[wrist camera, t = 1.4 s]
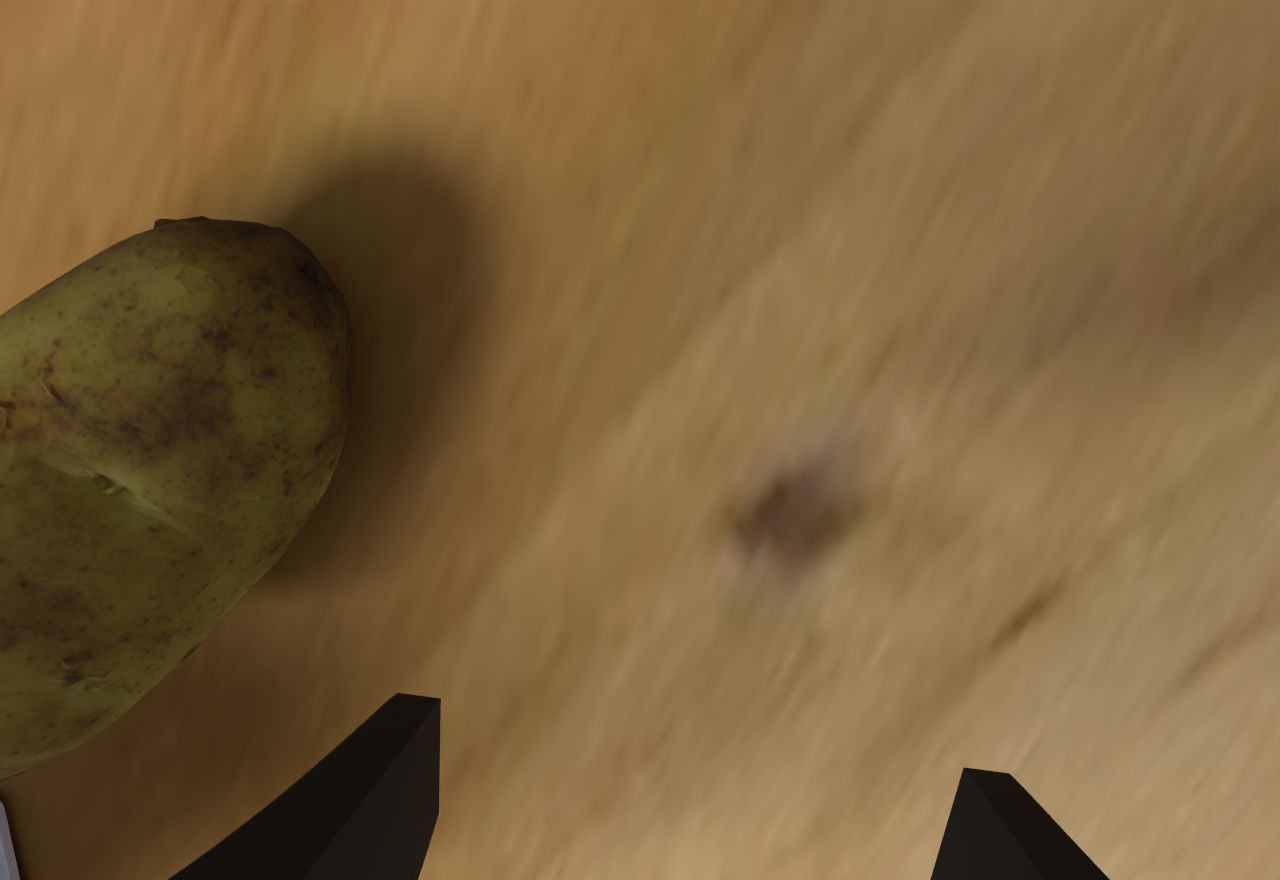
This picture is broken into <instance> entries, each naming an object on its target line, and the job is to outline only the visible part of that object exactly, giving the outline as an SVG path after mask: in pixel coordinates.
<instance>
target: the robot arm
mask: <svg viewBox="0 0 1280 880" xmlns="http://www.w3.org/2000/svg"><path fill="white" fill-rule="evenodd" d="M440 707H441V699H440V698H432V697H425V696H417V695H409V694H402V693H397V694H396V695H394V696H393V697H391V698H390V699H389V700H388V701H387V702H386V703H384V704H383V705H382V706H381V707H380V708H379V709H378V710H377V711H376V712H375V713H373V714H372V715H371V716H370V717H369V718H368V719H367V720H366V721H365V722H364V723H363V724H361V725H360V726H359V727H358V728H357V729H356V730H355V731H354V732H353V733H352V734H350V735H349V736H348V737H347V738H346V739H345V740H344V741H343V742H341V743H340V744H339V745H338V746H337V747H336V748H335V749H334V750H332V751H331V752H330V753H329V754H328V755H327V756H326V757H325V758H323V759H322V760H321V761H320V762H319V763H318V764H316V765H315V766H314V767H313V768H312V769H310V770H309V771H308V772H307V773H306V774H305V775H303V776H302V777H301V778H300V779H299V780H298V781H296V782H295V783H294V784H293V785H292V786H290V787H289V788H288V789H287V790H286V791H285V792H283V793H282V794H281V795H280V796H279V797H277V798H276V799H275V800H274V801H272V802H271V803H270V804H269V805H267V806H266V807H265V808H264V809H262V810H261V811H260V812H258V813H257V814H256V815H255V816H253V817H252V818H251V819H249V820H248V821H247V822H245V823H244V824H243V825H242V826H240V827H239V828H238V829H236V830H235V831H234V832H233V833H231V834H230V835H229V836H227V837H226V838H225V839H224V840H222V841H221V842H220V843H218V844H217V845H216V846H214V847H213V848H212V849H210V850H209V851H208V852H206V853H205V854H203V855H202V856H201V857H199V858H198V859H196V860H195V861H194V862H192V863H191V864H189V865H188V866H187V867H185V868H184V869H182V870H181V871H179V872H178V873H177V874H175V875H174V876H172V877H171V878H169V879H168V880H418V878H419V875H420V872H421V869H422V866H423V862H424V859H425V856H426V853H427V850H428V847H429V843H430V840H431V837H432V834H433V831H434V827H435V824H436V821H437V818H438V814H439V766H440ZM0 880H20V877H19V872H18V867H17V863H16V858H15V854H14V849H13V845H12V840H11V835H10V831H9V826H8V822H7V817H6V813H5V808H4V805H3V803H2V802H1V801H0ZM931 880H1110V879H1109V878H1108V877H1107V876H1106V875H1105V874H1104V873H1103V872H1102V871H1101V870H1100V869H1099V868H1098V867H1097V866H1096V865H1095V864H1094V863H1093V861H1092V860H1091V859H1090V858H1089V857H1088V856H1087V855H1086V854H1085V853H1084V852H1083V851H1082V850H1081V849H1080V848H1079V846H1078V845H1077V844H1076V843H1075V842H1074V841H1073V840H1072V839H1071V838H1070V837H1069V836H1068V835H1067V834H1066V833H1065V832H1064V830H1063V829H1062V828H1061V827H1060V826H1059V825H1058V824H1057V823H1056V822H1055V821H1054V820H1053V819H1052V818H1051V816H1050V815H1049V814H1048V813H1047V812H1046V811H1045V810H1044V809H1043V808H1042V807H1041V806H1040V805H1039V804H1038V803H1037V801H1036V800H1035V799H1034V798H1033V797H1032V796H1031V795H1030V794H1029V793H1028V792H1027V791H1026V790H1025V789H1024V788H1023V787H1022V786H1021V785H1020V784H1019V783H1018V782H1017V781H1016V780H1015V779H1014V778H1013V777H1012V776H1011V775H1010V774H1009V773H1002V772H994V771H987V770H979V769H971V768H964V769H963V772H962V775H961V779H960V782H959V785H958V789H957V792H956V795H955V799H954V802H953V806H952V809H951V812H950V816H949V819H948V822H947V826H946V829H945V833H944V836H943V839H942V843H941V846H940V849H939V853H938V856H937V860H936V863H935V866H934V870H933V873H932V876H931Z"/></svg>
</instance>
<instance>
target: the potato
mask: <svg viewBox="0 0 1280 880" xmlns="http://www.w3.org/2000/svg"><path fill="white" fill-rule="evenodd" d="M351 354H352V337H351V324H350V316H349V313H348V310H347V306H346V303H345V300H344V296H343V294H342V293H341V292H340V291H339V289H338V288H337V287H336V285H335V284H334V282H333V280H332V279H331V277H330V276H329V274H328V273H327V272H326V270H325V269H324V268H323V266H322V265H321V264H320V263H319V261H318V260H317V259H316V257H315V256H314V255H313V253H312V252H311V251H310V250H309V249H308V247H307V246H306V245H305V244H304V243H302V242H301V241H300V240H298V239H297V238H295V237H294V236H293V235H291V234H290V233H289V232H287V231H286V230H284V229H282V228H278V227H270V226H267V225H263V224H260V223H256V222H245V221H232V220H213V219H209V218H206V217H204V216H200V217H194V218H187V219H180V220H171V219H159V220H156V221H155V226H154V229H151V230H148V231H145V232H142V233H139V234H136V235H134V236H131V237H129V238H127V239H125V240H123V241H121V242H118V243H116V244H114V245H112V246H111V247H109V248H107V249H105V250H104V251H102V252H100V253H99V254H97V255H95V256H93V257H92V258H90V259H88V260H86V261H85V262H83V263H81V264H80V265H78V266H77V267H75V268H73V269H72V270H70V271H69V272H67V273H65V274H64V275H62V276H61V277H59V278H57V279H56V280H54V281H53V282H51V283H49V284H48V285H46V286H45V287H43V288H42V289H40V290H38V291H37V292H35V293H34V294H32V295H31V296H29V297H27V298H26V299H24V300H23V301H21V302H20V303H18V304H17V305H15V306H14V307H12V308H11V309H9V310H8V311H7V312H5V313H4V314H2V315H1V316H0V781H2V780H5V779H8V778H10V777H13V776H16V775H19V774H22V773H23V772H25V771H27V770H29V769H31V768H33V767H35V766H38V765H40V764H42V763H44V762H47V761H49V760H51V759H54V758H56V757H58V756H60V755H63V754H65V753H67V752H69V751H71V750H73V749H75V748H76V747H78V746H80V745H81V744H83V743H85V742H87V741H88V740H90V739H92V738H93V737H95V736H96V735H98V734H99V733H101V732H102V731H104V730H105V729H107V728H108V727H109V726H110V725H112V724H113V723H114V722H115V721H117V720H118V719H119V718H120V717H121V716H122V715H123V714H125V713H126V712H127V711H128V710H129V709H130V708H131V707H132V706H133V705H135V704H136V703H137V702H138V701H139V700H140V699H141V698H142V697H143V696H145V695H146V694H147V693H148V692H149V691H150V690H151V689H152V688H153V687H154V686H156V685H157V684H158V683H159V682H160V681H161V680H162V679H163V678H164V677H166V676H167V675H168V674H169V673H170V672H171V671H172V670H174V669H175V668H176V667H177V666H178V665H179V664H181V663H182V662H183V661H184V660H185V659H186V658H187V657H188V656H190V655H191V654H192V653H193V652H194V651H195V650H196V649H197V648H198V647H199V646H200V645H201V644H202V643H203V642H204V641H205V640H206V639H207V638H208V636H209V635H210V634H211V633H212V632H213V631H214V630H215V629H216V628H217V626H218V625H219V624H220V623H221V622H222V620H223V619H224V618H225V617H226V616H227V614H228V613H229V612H230V611H231V610H232V609H233V608H234V607H235V605H236V604H237V603H238V602H239V601H240V600H241V599H242V597H243V596H244V595H245V594H246V593H247V592H248V591H249V590H250V589H251V588H252V587H253V586H254V585H255V584H256V583H257V582H258V581H259V580H260V579H261V578H262V577H263V576H264V575H265V574H266V573H267V572H268V571H269V570H270V569H271V568H272V567H273V566H274V565H275V564H276V563H277V561H278V560H279V559H280V557H281V556H282V555H283V554H284V552H285V551H286V550H287V549H288V547H289V546H290V545H291V544H292V542H293V541H294V540H295V538H296V537H297V535H298V534H299V532H300V531H301V529H302V528H303V526H304V525H305V523H306V522H307V520H308V519H309V517H310V516H311V514H312V512H313V511H314V509H315V507H316V506H317V504H318V503H319V501H320V499H321V498H322V496H323V495H324V493H325V491H326V489H327V486H328V484H329V482H330V480H331V478H332V476H333V473H334V471H335V469H336V467H337V464H338V462H339V459H340V456H341V453H342V450H343V444H344V439H345V434H346V430H347V425H348V420H349V414H350V398H351Z"/></svg>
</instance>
